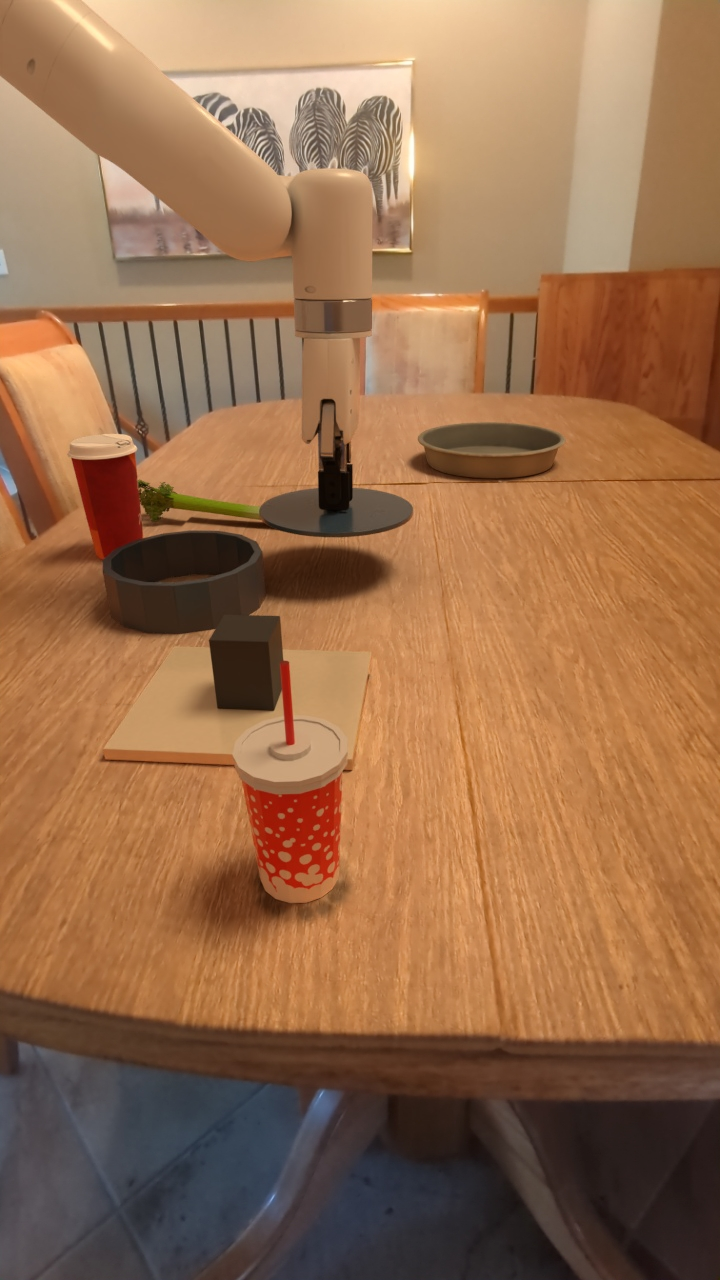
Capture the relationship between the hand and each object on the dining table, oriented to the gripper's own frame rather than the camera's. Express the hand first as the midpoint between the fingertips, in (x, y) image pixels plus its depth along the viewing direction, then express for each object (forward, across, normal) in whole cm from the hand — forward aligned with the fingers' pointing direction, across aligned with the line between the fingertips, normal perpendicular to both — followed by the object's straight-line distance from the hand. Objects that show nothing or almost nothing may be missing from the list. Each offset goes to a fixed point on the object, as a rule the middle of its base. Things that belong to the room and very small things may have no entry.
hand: (336, 503), depth 81 cm
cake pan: (+8, -52, +20) cm, 56 cm away
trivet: (+9, +28, -3) cm, 29 cm away
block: (+8, +28, -3) cm, 29 cm away
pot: (+9, +9, -14) cm, 19 cm away
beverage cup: (+9, +46, +4) cm, 47 cm away
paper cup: (+9, -5, -27) cm, 29 cm away
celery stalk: (+9, -17, -17) cm, 26 cm away
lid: (+1, 0, 0) cm, 1 cm away
